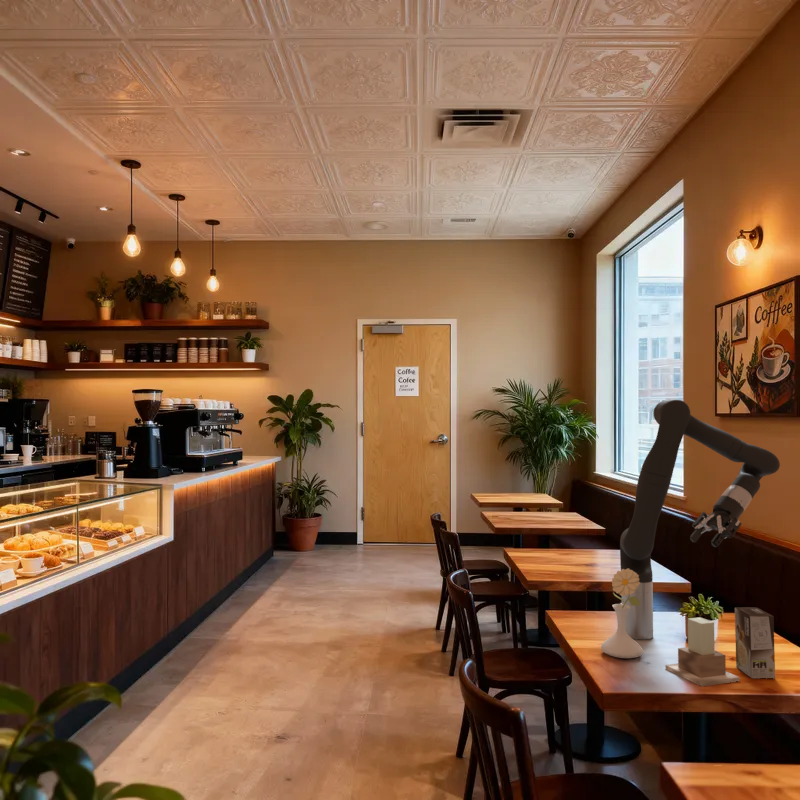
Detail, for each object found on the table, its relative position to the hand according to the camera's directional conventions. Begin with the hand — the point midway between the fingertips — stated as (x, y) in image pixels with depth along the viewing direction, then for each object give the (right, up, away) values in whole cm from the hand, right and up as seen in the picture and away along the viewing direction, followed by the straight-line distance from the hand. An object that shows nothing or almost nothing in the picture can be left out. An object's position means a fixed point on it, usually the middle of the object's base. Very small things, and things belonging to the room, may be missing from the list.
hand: (702, 542), depth 197 cm
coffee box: (+4, -30, -22) cm, 37 cm away
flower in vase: (-27, -30, -10) cm, 42 cm away
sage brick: (-11, -23, -24) cm, 35 cm away
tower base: (-11, -29, -24) cm, 40 cm away
